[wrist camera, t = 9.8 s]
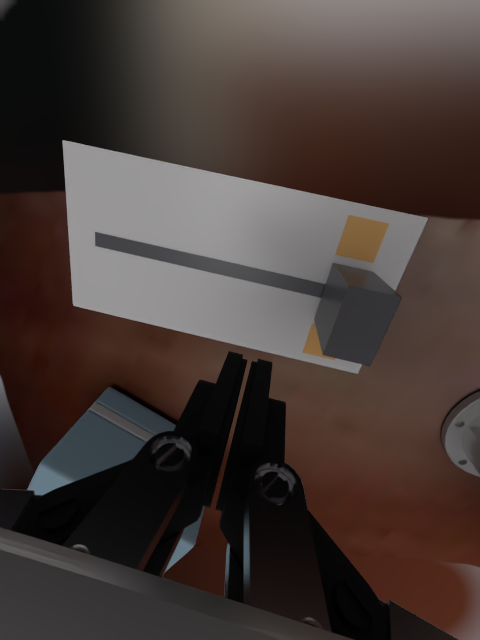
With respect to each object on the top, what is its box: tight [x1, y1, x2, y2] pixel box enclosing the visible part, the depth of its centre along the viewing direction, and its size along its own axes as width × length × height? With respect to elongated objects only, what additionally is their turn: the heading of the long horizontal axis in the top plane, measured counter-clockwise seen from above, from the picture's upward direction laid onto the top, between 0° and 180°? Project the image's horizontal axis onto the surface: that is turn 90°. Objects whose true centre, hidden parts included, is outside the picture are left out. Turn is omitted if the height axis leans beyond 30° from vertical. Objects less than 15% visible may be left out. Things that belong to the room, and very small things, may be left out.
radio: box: [27, 387, 205, 571], centre depth 29 cm, size 16×9×20 cm, turn 57°
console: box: [63, 141, 428, 374], centre depth 26 cm, size 28×14×3 cm, turn 79°
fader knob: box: [314, 263, 402, 366], centre depth 21 cm, size 3×5×6 cm, turn 169°
